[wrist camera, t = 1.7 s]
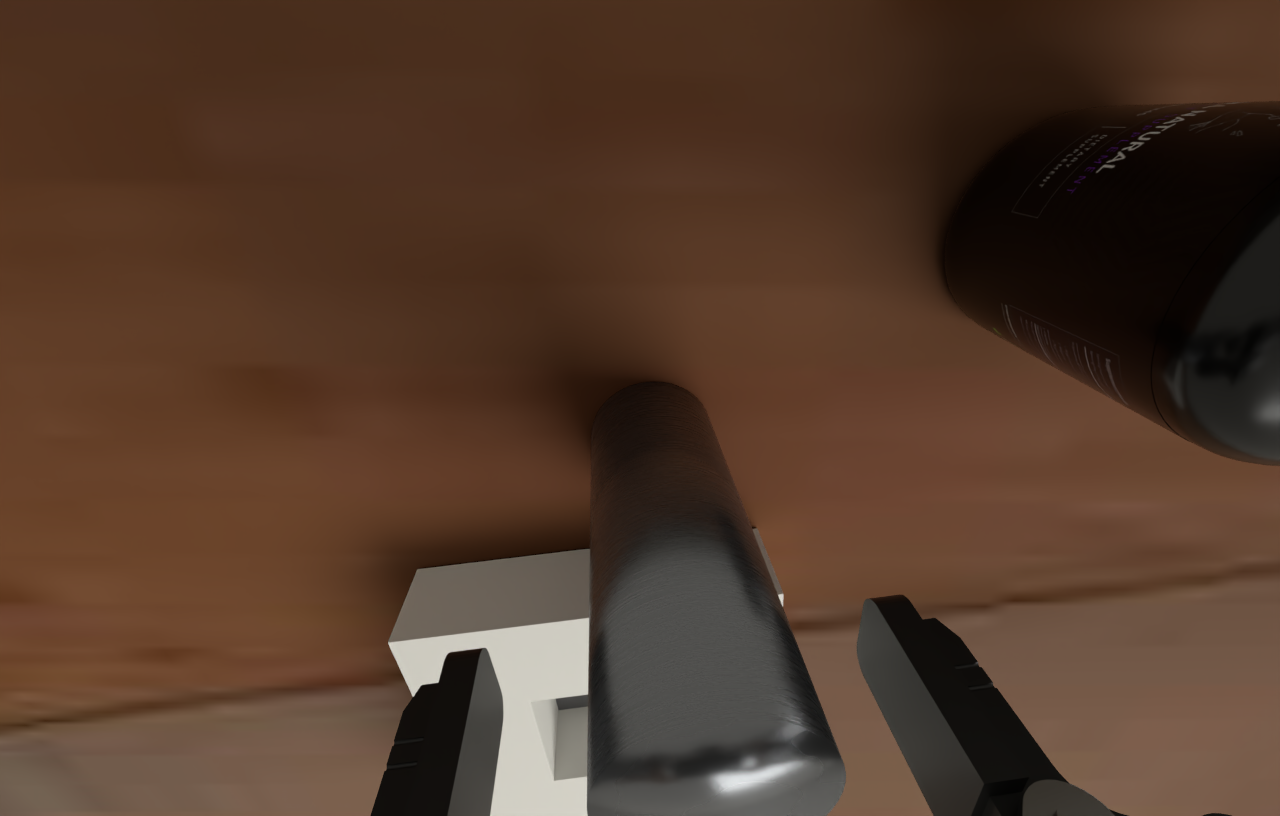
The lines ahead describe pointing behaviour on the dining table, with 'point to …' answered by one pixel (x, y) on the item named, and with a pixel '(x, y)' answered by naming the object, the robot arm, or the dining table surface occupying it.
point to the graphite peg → (690, 633)
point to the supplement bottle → (1139, 262)
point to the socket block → (517, 664)
